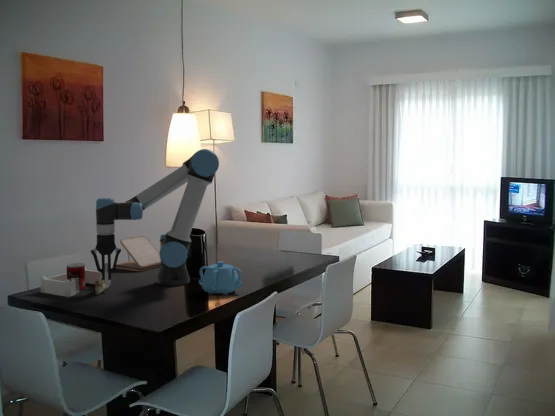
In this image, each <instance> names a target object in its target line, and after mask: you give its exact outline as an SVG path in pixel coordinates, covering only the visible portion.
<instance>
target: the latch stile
mask: <svg viewBox="0 0 555 416" xmlns="http://www.w3.org/2000/svg"><path fill="white" fill-rule="evenodd" d="M71 281H75V286H76V294H79V293H80V290H79V278H77V277H75V278H71Z"/></svg>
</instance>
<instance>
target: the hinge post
mask: <svg viewBox="0 0 555 416" xmlns="http://www.w3.org/2000/svg"><path fill="white" fill-rule="evenodd" d="M105 272H108V262H105ZM108 284H109V287H112V281H111V280H108Z"/></svg>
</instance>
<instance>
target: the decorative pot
mask: <svg viewBox="0 0 555 416" xmlns="http://www.w3.org/2000/svg"><path fill="white" fill-rule="evenodd" d="M203 270H205V272H204V274H203ZM237 272H238V274H237ZM242 274H243V273H242V270H241V269H240V268H239V267H234V266H233V265H232V264H228V263H227V264H226V263H225V262H224V260H223V261H222V260H221V261H216V264H211V265H208V266H207V265H204V266H202V267H200V269H199V276H200V279H199V280H198V284H199V285H200V286H201V288H202V289H203V290H204V292H205V293H207V294H208V295H215V294H221V295H222V296H228V295H229V294H230V293H233V292H235V291H236V290H237V289H239V288H240V289H241V288H242V287H243V282H242V281H241V278H242Z"/></svg>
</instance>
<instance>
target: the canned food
mask: <svg viewBox="0 0 555 416" xmlns="http://www.w3.org/2000/svg"><path fill="white" fill-rule="evenodd" d="M85 267H86V266H85V263H84V262H72V263H68V264H66V273H67V280H70V281H71V278H75V277H77V278H79V291H82V290H85V289H86V283H85Z"/></svg>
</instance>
